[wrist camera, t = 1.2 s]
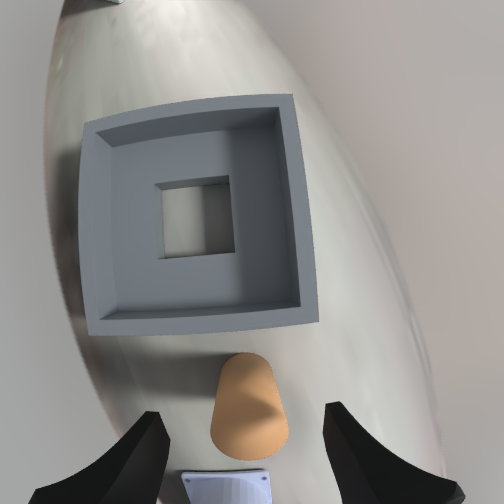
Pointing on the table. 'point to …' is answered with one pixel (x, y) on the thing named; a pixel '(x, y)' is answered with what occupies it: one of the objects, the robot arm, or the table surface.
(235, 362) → the peg
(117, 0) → the supplement box
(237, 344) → the table surface
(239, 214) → the box
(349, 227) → the table surface
